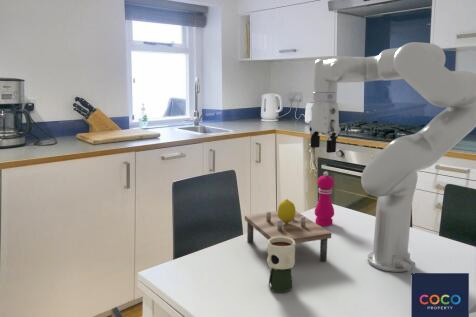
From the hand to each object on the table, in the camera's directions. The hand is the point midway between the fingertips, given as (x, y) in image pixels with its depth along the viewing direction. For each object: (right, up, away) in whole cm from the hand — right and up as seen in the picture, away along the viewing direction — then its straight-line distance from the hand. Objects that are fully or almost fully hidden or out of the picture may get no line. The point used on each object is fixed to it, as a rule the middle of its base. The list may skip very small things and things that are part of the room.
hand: (322, 149), depth 141 cm
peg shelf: (-13, -32, -6) cm, 35 cm away
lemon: (-13, -24, -8) cm, 28 cm away
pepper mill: (+4, -27, +18) cm, 33 cm away
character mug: (-17, -37, -30) cm, 50 cm away
